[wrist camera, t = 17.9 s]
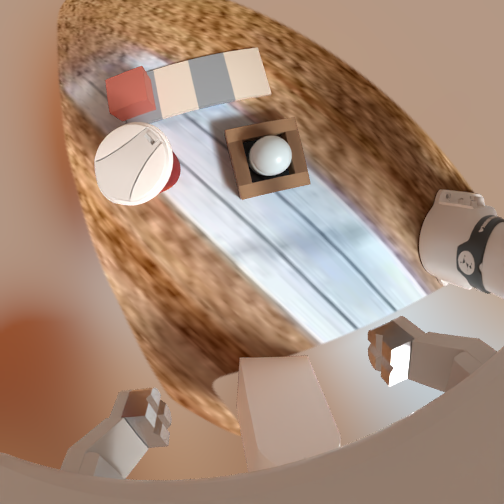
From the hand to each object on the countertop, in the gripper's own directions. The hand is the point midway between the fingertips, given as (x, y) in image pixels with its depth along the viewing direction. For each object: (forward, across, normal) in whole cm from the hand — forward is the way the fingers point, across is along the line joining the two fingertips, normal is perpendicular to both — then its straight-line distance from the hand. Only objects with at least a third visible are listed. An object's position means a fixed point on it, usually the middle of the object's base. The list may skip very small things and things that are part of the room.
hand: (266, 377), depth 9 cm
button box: (+29, +7, +9) cm, 31 cm away
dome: (+28, +7, +9) cm, 31 cm away
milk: (+29, 0, -27) cm, 40 cm away
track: (+29, 0, +22) cm, 36 cm away
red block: (+28, -8, +22) cm, 37 cm away
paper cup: (+29, -7, +11) cm, 32 cm away
